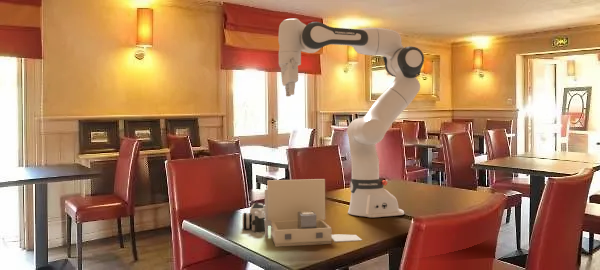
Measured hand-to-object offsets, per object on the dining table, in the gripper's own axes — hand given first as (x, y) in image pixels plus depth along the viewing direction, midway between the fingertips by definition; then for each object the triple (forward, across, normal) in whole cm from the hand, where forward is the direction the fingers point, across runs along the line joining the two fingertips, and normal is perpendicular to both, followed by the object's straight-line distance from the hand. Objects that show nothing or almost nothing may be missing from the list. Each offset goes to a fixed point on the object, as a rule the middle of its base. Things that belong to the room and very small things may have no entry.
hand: (290, 95), depth 182 cm
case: (+50, -31, +1) cm, 59 cm away
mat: (+50, -32, -14) cm, 61 cm away
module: (+49, -32, -1) cm, 59 cm away
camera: (+50, -12, +15) cm, 54 cm away
